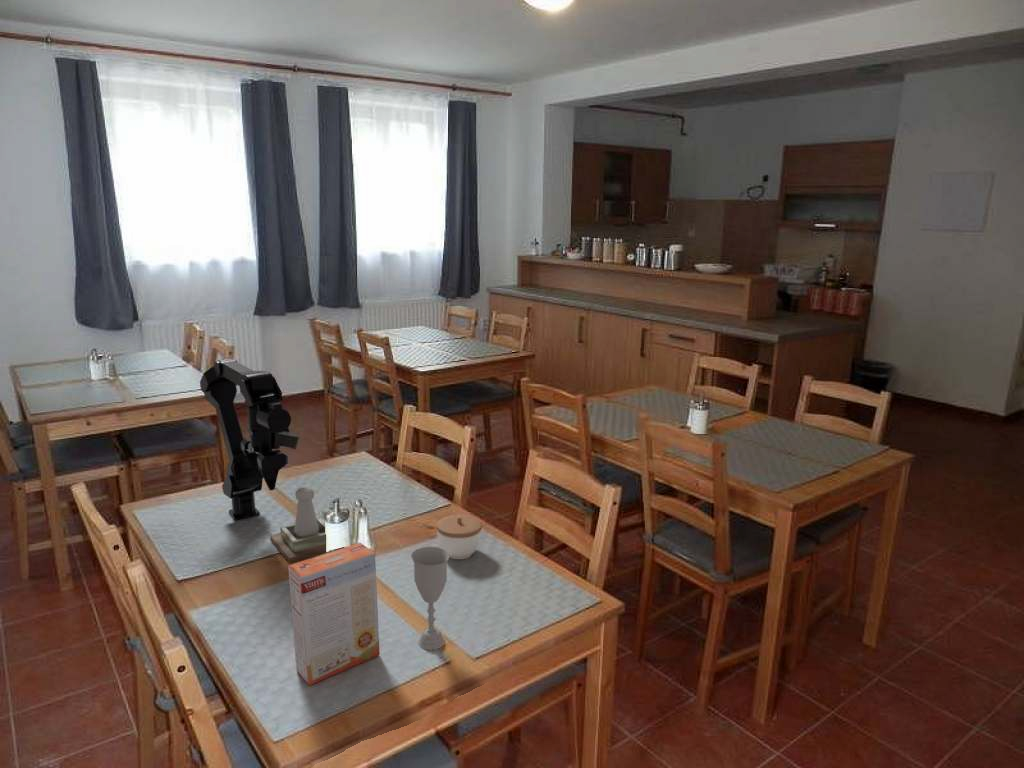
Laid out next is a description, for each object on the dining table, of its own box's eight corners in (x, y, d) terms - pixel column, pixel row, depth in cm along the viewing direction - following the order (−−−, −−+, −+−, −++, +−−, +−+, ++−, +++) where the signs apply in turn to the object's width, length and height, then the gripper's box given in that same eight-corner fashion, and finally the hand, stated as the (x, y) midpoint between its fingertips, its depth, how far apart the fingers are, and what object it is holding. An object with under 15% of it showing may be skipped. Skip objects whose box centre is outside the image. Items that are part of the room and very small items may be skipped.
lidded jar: (453, 569, 159) (453, 531, 157) (428, 551, 167) (427, 515, 165) (490, 555, 166) (491, 519, 164) (464, 538, 174) (464, 504, 172)
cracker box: (365, 640, 132) (361, 540, 127) (380, 656, 128) (377, 552, 123) (294, 669, 123) (286, 563, 118) (308, 687, 119) (301, 577, 114)
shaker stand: (270, 539, 171) (269, 526, 171) (325, 525, 179) (324, 512, 179) (289, 562, 160) (288, 548, 160) (346, 546, 169) (346, 532, 168)
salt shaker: (301, 546, 166) (298, 495, 163) (290, 538, 170) (287, 488, 167) (323, 539, 170) (321, 489, 167) (312, 531, 174) (310, 482, 171)
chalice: (405, 640, 132) (403, 554, 128) (433, 626, 137) (432, 543, 133) (429, 658, 127) (427, 569, 123) (457, 642, 132) (457, 556, 128)
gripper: (307, 427, 166) (311, 488, 169) (282, 410, 180) (286, 467, 184) (259, 435, 159) (264, 499, 163) (237, 417, 174) (243, 475, 178)
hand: (266, 484), depth 172 cm, fingers open, 9 cm apart
